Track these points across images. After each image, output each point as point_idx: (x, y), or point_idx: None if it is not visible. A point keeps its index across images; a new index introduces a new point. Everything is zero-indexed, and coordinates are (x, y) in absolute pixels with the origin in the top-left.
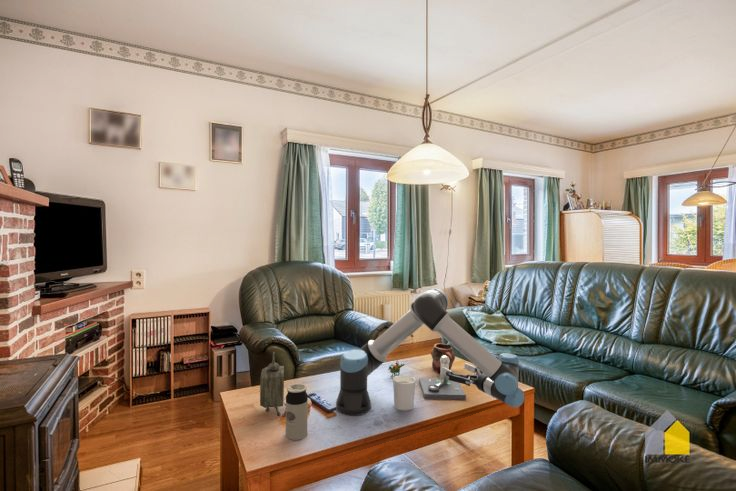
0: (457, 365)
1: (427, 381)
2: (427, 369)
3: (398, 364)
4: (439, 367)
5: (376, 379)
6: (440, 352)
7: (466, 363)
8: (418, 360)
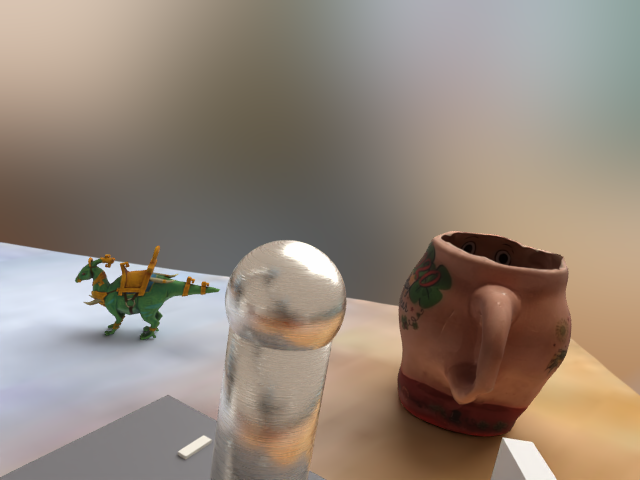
0: (601, 419)
1: (156, 448)
2: (371, 369)
3: (150, 270)
4: (417, 382)
5: (8, 311)
6: (442, 275)
7: (531, 461)
8: (397, 318)
